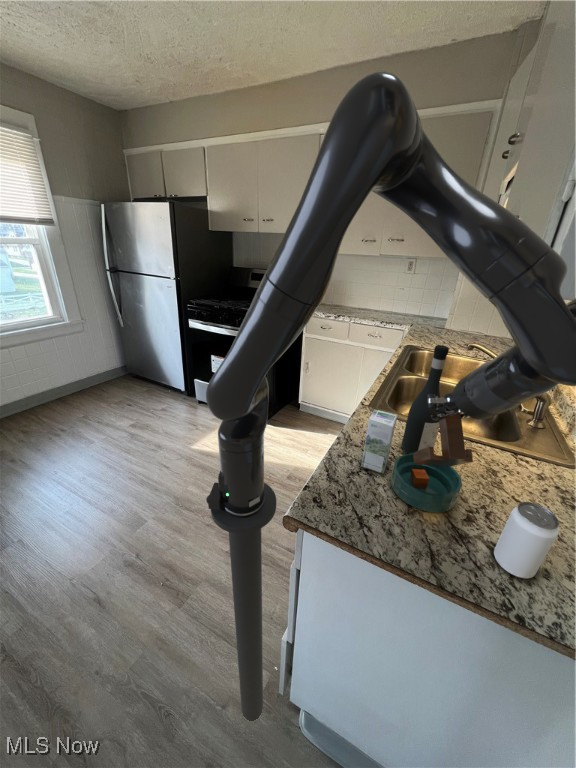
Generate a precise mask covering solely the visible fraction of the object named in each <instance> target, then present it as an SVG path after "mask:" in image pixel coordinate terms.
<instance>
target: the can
mask: <svg viewBox="0 0 576 768" xmlns="http://www.w3.org/2000/svg"><path fill="white" fill-rule="evenodd" d="M559 527H560V520H559V518H558V517H557V516H556V515H555V513H553V512H552V511H551V510H549V509H548V508H546V507H545V506H543V505H540V504H539V503H537V502H536V503H535V502H532V501H521V502H519V503H518V504H517V506H514V508H512V510H511V512H510V514H509V516H508V518H507V520H506V522H505V524H504V526H503V529H502V530H501V533H500V535H499V537H498V540H497V542H496V544H495V547H494V548H493V556H494V558H495V560H496V562H497V563H498V565H499V566H500V568H502V569H503V570H504V571H505V572H506V573H508V574H510V575H512V576H514V577H516V578H520V579H531V578H533V577H535V576H536V574H537V573H538V571H539V569H540V567H541V565H542V564H543V562H544V560H545V559H546V557H547V555H548V554H549V551H550V550H551V548H552V546H553V545H554V543H555V541H556V539H557V537H558V535H559Z"/></svg>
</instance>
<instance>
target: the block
mask: <svg viewBox="0 0 576 768" xmlns="http://www.w3.org/2000/svg"><path fill="white" fill-rule="evenodd" d="M410 481H411V483H412V485H413V487H414V488H427V485H428V481H429V477H428V475H427V473H426V471H425V470H419V469H412V472H411V475H410Z"/></svg>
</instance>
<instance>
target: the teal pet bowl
mask: <svg viewBox="0 0 576 768" xmlns="http://www.w3.org/2000/svg"><path fill="white" fill-rule="evenodd" d="M393 463H394V464H393V467H392V472H391V477H390V485H391V488H392V490H393V492H394V493H395V494H396V495H397V497H398V498H400V499H401V500H402V501H403V502H404V503H406V504H408V505H409V506H411V507H413V508H415V509H418V510H421V511H424V512H427V513H444V512H448V511H450V510H451V509H453V508H454V507H455V506H456V504H457V501H458V499H459V495H460V493H461V491H462V488H463V482H462V477H461V476H460V474H459V473H458V471H457V470H456V469H455V468H454V466H438V465H423V464H414V459H413V453H409V454H407V453H404V454H402V455H400V456H398V457H397V458H396V459H395V461H394V462H393ZM412 469H419V470H425V471H426V473H427V475H428V477H429V481H428V485H427V488H414V487H413V485H412V483H411V481H410V475H411V472H412Z"/></svg>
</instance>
